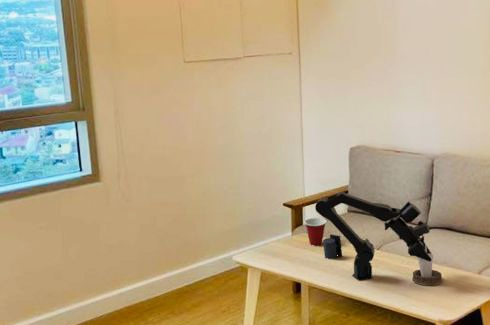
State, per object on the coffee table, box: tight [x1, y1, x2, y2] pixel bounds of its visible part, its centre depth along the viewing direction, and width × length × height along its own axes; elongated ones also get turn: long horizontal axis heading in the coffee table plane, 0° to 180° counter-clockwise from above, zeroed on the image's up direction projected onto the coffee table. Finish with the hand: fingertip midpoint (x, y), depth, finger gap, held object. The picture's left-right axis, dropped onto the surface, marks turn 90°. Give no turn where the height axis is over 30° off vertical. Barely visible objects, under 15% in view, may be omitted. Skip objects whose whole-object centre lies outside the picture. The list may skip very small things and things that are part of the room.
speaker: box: [322, 234, 343, 260], centre depth 289 cm, size 8×6×10 cm
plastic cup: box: [304, 217, 327, 246], centre depth 310 cm, size 11×11×12 cm
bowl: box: [412, 269, 443, 287], centre depth 255 cm, size 12×12×3 cm
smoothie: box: [416, 244, 434, 278], centre depth 254 cm, size 6×6×14 cm
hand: (430, 257), depth 253 cm, fingers open, 8 cm apart
